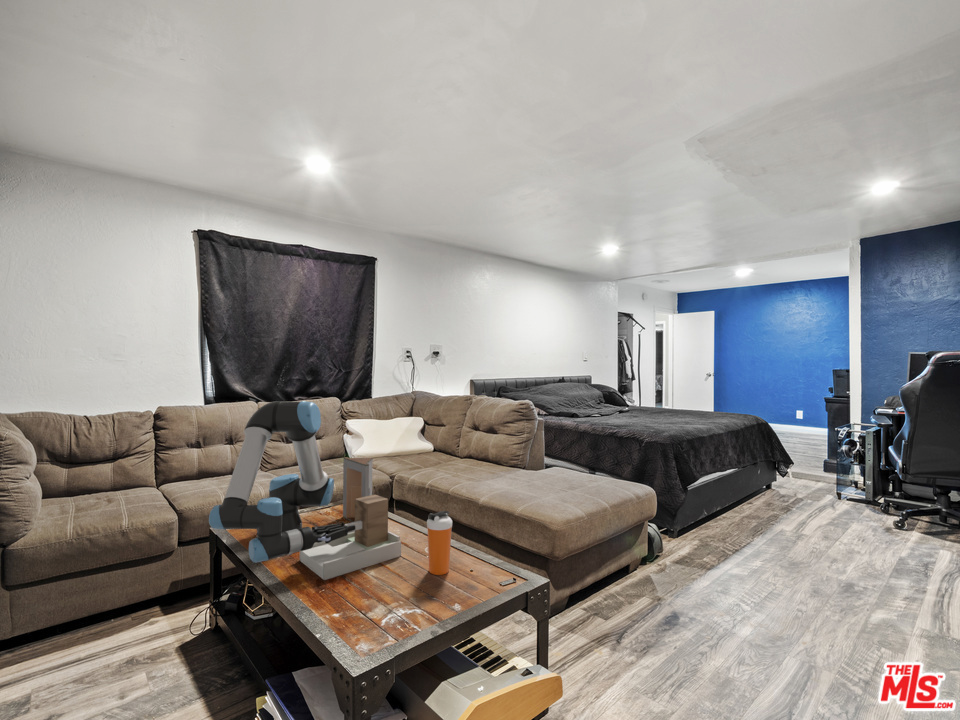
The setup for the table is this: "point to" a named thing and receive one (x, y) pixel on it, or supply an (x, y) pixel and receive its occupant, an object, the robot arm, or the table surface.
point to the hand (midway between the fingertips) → (361, 524)
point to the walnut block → (371, 520)
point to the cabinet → (355, 483)
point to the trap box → (348, 555)
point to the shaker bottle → (439, 542)
